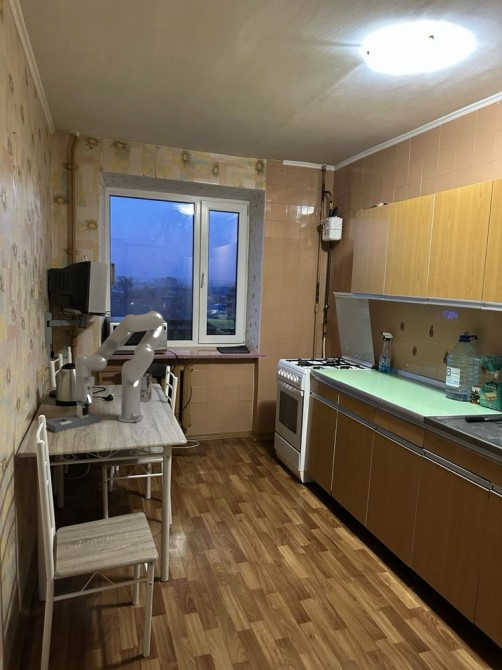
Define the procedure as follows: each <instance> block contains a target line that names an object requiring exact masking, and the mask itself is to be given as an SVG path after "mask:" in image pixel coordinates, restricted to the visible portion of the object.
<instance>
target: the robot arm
mask: <svg viewBox="0 0 502 670" xmlns="http://www.w3.org/2000/svg"><path fill="white" fill-rule="evenodd" d="M145 331H146V332H145ZM164 331H165V326H164V317H163V315H162V314H161V313H160V312H158V311H155V310H150V311H148V312H147V313H143V314H136V315H135V314H132V313H131V314H127V315H126V316H124V318H123V319H122V320H121V321H120V322H119V323H118V325H117V326H116V327H115V329H113V330H112V332H111V333H110V335H109V336H108V337H107V338H106V339H105V341H103V343H102V344H101V345H100V346H99V348H98V349H97V350H96V351H95V352H94V354H92V356H90V355H89V354H78V355H76V356H75V358H74V361H75V362H74V363H75V364H74V365H75V368H74V370H75V371H74V374H75V375H74V377H75V378H74V396H73V397H74V400H75V402H76V404H77V403H78V402H83V408H82V415H83V416H84V415H88V414H89V412H90V411H89V410H90V409H89V408H90V405H91V404H92V402H93V400H94V399H93V398H94V396H93V395H94V393H93V391H94V390H93V386H92V385H93V384H92V371H102V370H104V369H105V368H106V367H107V364H108V360H109V359H110V358H111V357H112V355H113V354H115V352H116V351H117V350H119V349H121V348H122V347H123V346H124V345H125V344H126V342H128V341H129V339H130V338H131V336H132V335H133V334H134V333H138V332H145V334H144V336H143V337H142V339H141V340H140V341H139V342H138V344H137V346H136V347H135V348H134V350H133V351H134V352H133V354H134V355H133V356H132V357H131V358H130V360H129V359H128V360H127V361H125V362H124V363H123V365H122V367H121V412H120V415H119V416H118V417H117V418H118V421H120V422H123V423H137V422H140V421H142V420H143V418H144V415H143V414H142V413H141V402H140V378H141V377H142V376H143V375H144V373H146V372H147V370H148V369H149V367H150V366H151V364H152V363H153V361H154V357H155V351H156V348H157V347H158V345H159V343H160V342H161V340H162V338H163V336H164ZM85 403H86V404H85Z"/></svg>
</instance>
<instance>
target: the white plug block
mask: <svg viewBox="0 0 502 670" xmlns="http://www.w3.org/2000/svg"><path fill="white" fill-rule="evenodd" d="M85 404H86V403H85ZM82 408H83V402H78V403H77V402H76V414H77V417H79V418H85V417H88V415H89V414H88V415H84V416H83V415H82Z"/></svg>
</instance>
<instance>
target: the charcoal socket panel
mask: <svg viewBox="0 0 502 670" xmlns="http://www.w3.org/2000/svg"><path fill="white" fill-rule="evenodd" d="M100 422H101V416H100V415H98V414H95V413H92V412H90V411H89V415H88V417H85V418H79V417H77V413H72V414H69V415H64V416H59V417H55V418H49V419H46V425H47V428H48V429H50V430H49V431H51V430H52V431H51V432H53V431H54V432H53V433H55V432H56V433H60V432H63V430H64V431H67V429H69V430H72V429H71V428H73V429H76V427H77V428H80V427H85V426H89V425H92V424H97V423H100ZM48 429H47V430H48ZM59 431H60V432H59Z"/></svg>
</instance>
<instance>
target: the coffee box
mask: <svg viewBox="0 0 502 670" xmlns="http://www.w3.org/2000/svg"><path fill="white" fill-rule="evenodd" d="M152 392H153V374H152V373H146V372H145V373H144V375H143V376H142V377H141V378H140V403H141V402H143V403H148V402H150V400H152V394H153V393H152Z"/></svg>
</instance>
